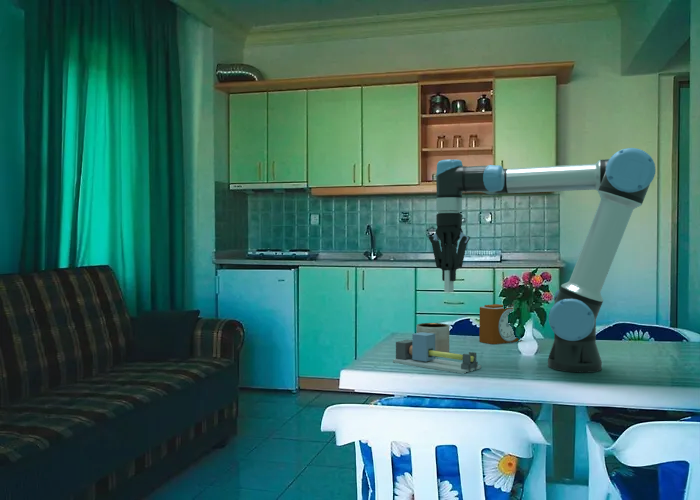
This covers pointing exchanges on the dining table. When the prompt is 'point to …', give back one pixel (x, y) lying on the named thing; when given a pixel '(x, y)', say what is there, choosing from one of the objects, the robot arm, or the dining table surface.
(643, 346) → the dining table surface
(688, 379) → the dining table surface
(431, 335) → the sleeve
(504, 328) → the alarm clock
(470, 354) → the sliding block rail
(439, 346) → the planter
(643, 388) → the dining table surface
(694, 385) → the dining table surface
